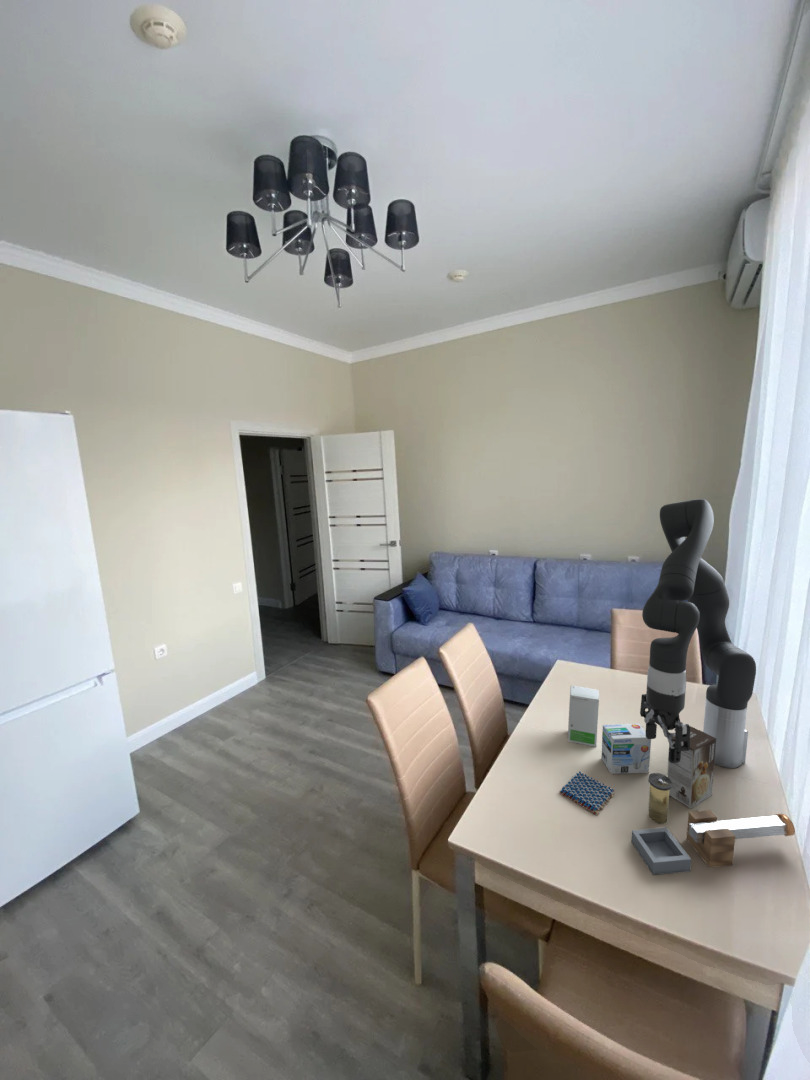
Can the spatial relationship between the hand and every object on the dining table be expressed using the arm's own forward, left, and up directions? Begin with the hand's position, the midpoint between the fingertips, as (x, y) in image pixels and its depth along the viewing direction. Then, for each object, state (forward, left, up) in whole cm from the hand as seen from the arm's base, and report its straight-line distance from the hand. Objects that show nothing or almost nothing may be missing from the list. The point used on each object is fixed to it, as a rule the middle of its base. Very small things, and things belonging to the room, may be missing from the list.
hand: (661, 749), depth 102 cm
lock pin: (-12, +10, -15) cm, 21 cm away
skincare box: (+4, -31, -18) cm, 36 cm away
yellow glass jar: (0, 0, -18) cm, 18 cm away
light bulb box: (-2, -18, -18) cm, 26 cm away
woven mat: (+13, -9, -19) cm, 24 cm away
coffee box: (-12, -6, -18) cm, 23 cm away
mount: (-5, +10, -18) cm, 21 cm away
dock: (+6, +10, -18) cm, 21 cm away
